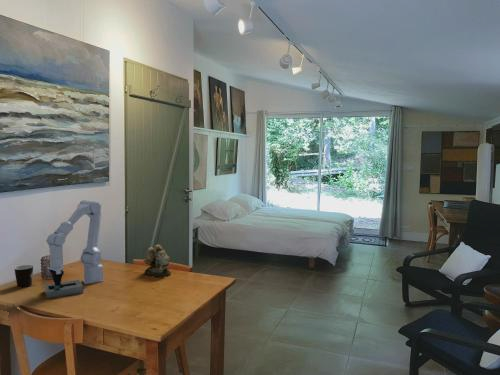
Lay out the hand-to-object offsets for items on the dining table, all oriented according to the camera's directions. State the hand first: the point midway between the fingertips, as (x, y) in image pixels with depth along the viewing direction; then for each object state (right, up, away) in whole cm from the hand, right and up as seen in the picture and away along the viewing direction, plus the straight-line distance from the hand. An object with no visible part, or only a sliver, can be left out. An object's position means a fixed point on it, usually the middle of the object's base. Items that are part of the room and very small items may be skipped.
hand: (57, 284), depth 192 cm
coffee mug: (-22, -4, +12) cm, 26 cm away
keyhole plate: (+2, -4, +2) cm, 5 cm away
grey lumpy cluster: (+41, -2, +34) cm, 53 cm away
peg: (0, -4, 0) cm, 4 cm away
